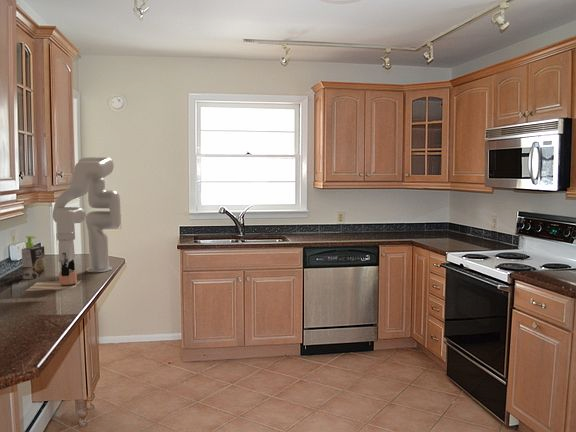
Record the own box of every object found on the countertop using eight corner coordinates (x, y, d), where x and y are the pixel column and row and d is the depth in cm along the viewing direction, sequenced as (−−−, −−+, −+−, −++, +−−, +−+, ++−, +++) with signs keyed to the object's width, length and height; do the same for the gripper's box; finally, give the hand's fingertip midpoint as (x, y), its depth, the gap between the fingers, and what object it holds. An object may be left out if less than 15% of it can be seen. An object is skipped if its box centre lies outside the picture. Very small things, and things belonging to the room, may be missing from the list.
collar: (62, 281, 245) (61, 270, 244) (78, 280, 246) (77, 270, 245) (58, 284, 238) (57, 274, 237) (74, 284, 239) (73, 273, 239)
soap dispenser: (30, 276, 266) (28, 237, 264) (22, 275, 269) (20, 236, 267) (41, 274, 271) (39, 235, 268) (33, 272, 274) (31, 234, 272)
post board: (37, 285, 248) (36, 267, 247) (81, 283, 251) (81, 266, 250) (25, 293, 232) (24, 274, 231) (73, 292, 235) (72, 273, 234)
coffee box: (34, 282, 254) (32, 249, 252) (22, 281, 255) (20, 248, 253) (46, 278, 263) (44, 246, 261) (35, 277, 264) (33, 245, 262)
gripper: (62, 233, 248) (64, 269, 250) (51, 240, 231) (54, 278, 233) (79, 233, 249) (81, 268, 251) (69, 239, 232) (72, 277, 234)
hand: (68, 273), depth 242 cm, fingers open, 9 cm apart
